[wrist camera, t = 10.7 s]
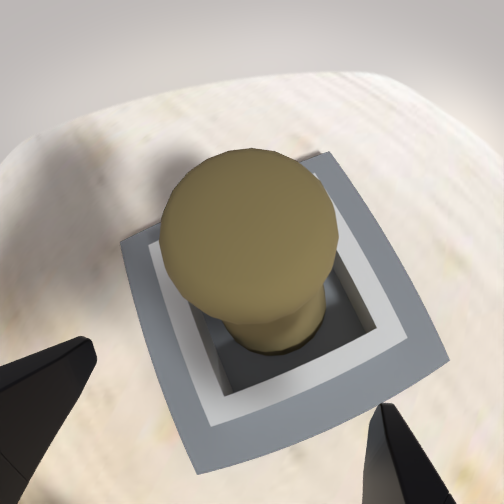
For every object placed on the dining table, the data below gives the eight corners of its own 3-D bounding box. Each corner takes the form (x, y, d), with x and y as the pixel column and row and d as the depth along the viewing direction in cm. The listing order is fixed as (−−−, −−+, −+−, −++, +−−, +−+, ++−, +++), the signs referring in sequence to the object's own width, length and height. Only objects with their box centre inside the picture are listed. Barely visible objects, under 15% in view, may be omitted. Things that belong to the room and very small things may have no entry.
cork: (230, 365, 17) (132, 349, 7) (213, 265, 19) (129, 149, 9) (337, 342, 16) (396, 294, 6) (312, 243, 19) (319, 101, 9)
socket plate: (201, 470, 15) (182, 487, 12) (126, 247, 22) (101, 226, 18) (442, 361, 16) (469, 357, 13) (328, 159, 22) (331, 127, 19)
